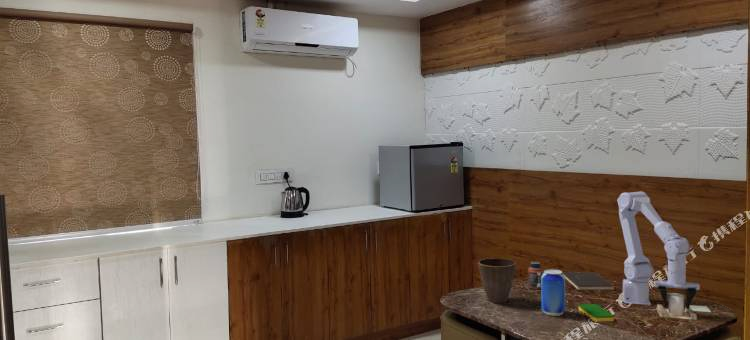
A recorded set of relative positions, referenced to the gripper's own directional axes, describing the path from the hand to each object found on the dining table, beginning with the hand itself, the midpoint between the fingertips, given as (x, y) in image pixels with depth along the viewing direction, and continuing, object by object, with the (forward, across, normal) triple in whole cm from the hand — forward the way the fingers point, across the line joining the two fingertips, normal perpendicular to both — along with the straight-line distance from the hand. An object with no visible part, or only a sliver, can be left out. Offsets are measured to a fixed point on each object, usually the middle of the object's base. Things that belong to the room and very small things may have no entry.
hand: (676, 307), depth 196 cm
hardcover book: (+4, -29, +38) cm, 48 cm away
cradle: (+3, 0, 0) cm, 3 cm away
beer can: (+3, -43, -10) cm, 44 cm away
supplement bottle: (+3, -51, +23) cm, 56 cm away
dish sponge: (+4, -28, -8) cm, 29 cm away
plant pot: (+3, -65, 0) cm, 65 cm away
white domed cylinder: (+2, 0, 0) cm, 2 cm away
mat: (+3, +9, +9) cm, 13 cm away
